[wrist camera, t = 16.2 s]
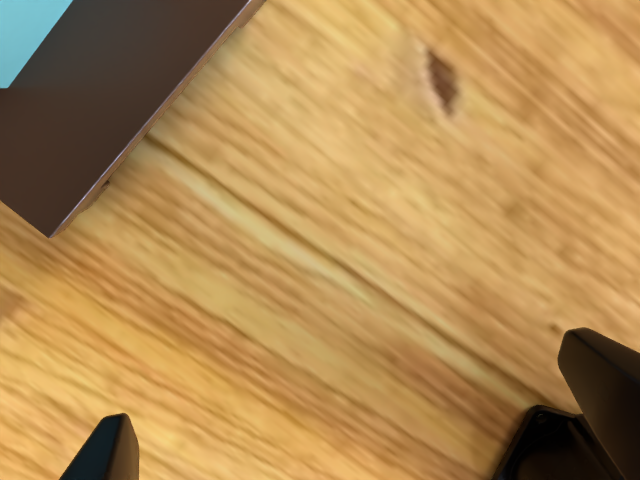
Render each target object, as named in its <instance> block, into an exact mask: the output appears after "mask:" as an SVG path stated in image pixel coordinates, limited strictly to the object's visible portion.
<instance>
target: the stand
mask: <svg viewBox="0 0 640 480" xmlns="http://www.w3.org/2000/svg"><path fill="white" fill-rule="evenodd" d="M265 1H266V0H73V1H72V2H71V4H70V5H69V6H68V8H67V9H66V10H65V12H64V13H63V14H62V16H61V17H60V18H59V20H58V21H57V22H56V24H55V25H54V26H53V28H52V29H51V30H50V32H49V33H48V34H47V36H46V37H45V38H44V40H43V41H42V42H41V44H40V45H39V47H38V48H37V49H36V51H35V52H34V53H33V55H32V56H31V57H30V59H29V60H28V61H27V63H26V64H25V65H24V67H23V68H22V69H21V71H20V72H19V73H18V75H17V76H16V77H15V79H14V80H13V81H12V83H11V84H10V85H9V87H8V88H0V200H1V201H2V202H3V203H4V204H6V205H7V206H8V207H9V208H11V209H12V210H13V211H15V212H16V213H17V214H18V215H20V216H21V217H22V218H23V219H25V220H26V221H27V222H28V223H30V224H31V225H32V226H34V227H35V228H36V229H37V230H39V231H40V232H41V233H42V234H44V235H45V236H46V237H48V238H52V237H54V236H55V235H57V234H58V233H60V232H62V231H63V230H65V229H66V228H67V227H68V225H69V224H70V223H71V222H72V221H73V219H74V218H75V217H76V216H77V215H78V214H79V213H81V212H83V211H84V210H86V209H88V208H89V207H90V206H91V205H92V204H93V203H94V202H95V200H96V199H97V198H98V197H99V196H100V195H101V193H102V192H103V191H104V190H105V189H106V188H107V186H108V185H109V184H110V182H109V181H108V180H107V179H108V178H109V177H110V176H111V175H112V173H113V172H114V171H115V170H116V169H117V168H118V166H119V165H120V164H121V163H122V162H123V160H124V159H125V158H126V157H127V156H128V155H129V153H130V152H131V151H132V150H133V149H134V148H135V146H136V145H137V144H138V143H139V142H140V140H141V139H142V138H143V137H144V136H145V135H146V133H147V132H148V131H149V130H150V129H151V127H152V126H153V125H154V124H155V123H156V122H157V120H158V119H159V118H160V117H161V116H162V115H163V113H164V112H165V111H166V110H167V109H168V107H169V106H170V105H171V104H172V103H173V102H174V100H175V99H176V98H177V97H178V96H179V94H180V93H181V92H182V91H183V90H184V89H185V87H186V86H187V85H188V84H189V83H190V81H191V80H192V79H193V78H194V77H195V76H196V74H197V73H198V72H199V71H200V70H201V69H202V67H203V66H204V65H205V64H206V63H207V61H208V60H209V59H210V58H211V57H212V56H213V54H214V53H215V52H216V51H217V50H218V48H219V47H220V46H221V45H222V44H223V43H224V41H225V40H226V39H227V38H228V37H229V36H230V34H231V33H232V32H233V31H234V30H235V28H236V27H237V26H238V27H240V28H243V27H244V26H245V25H246V23H247V22H248V21H249V20H250V19H251V17H252V16H253V15H254V14H255V13H256V12H257V10H258V9H259V8H260V7H261V6H262V5H263V3H264V2H265Z"/></svg>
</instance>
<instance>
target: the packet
mask: <svg viewBox="0 0 640 480" xmlns="http://www.w3.org/2000/svg"><path fill="white" fill-rule="evenodd" d="M72 1H73V0H0V88H8V87H9V85H10V84H11V83H12V81H13V80H14V79H15V77H16V76H17V75H18V73H19V72H20V71H21V69H22V68H23V67H24V65H25V64H26V63H27V61H28V60H29V59H30V57H31V56H32V55H33V53H34V52H35V51H36V49H37V48H38V47H39V45H40V44H41V42H42V41H43V40H44V38H45V37H46V36H47V34H48V33H49V32H50V30H51V29H52V28H53V26H54V25H55V24H56V22H57V21H58V20H59V18H60V17H61V16H62V14H63V13H64V12H65V10H66V9H67V8H68V6H69V5H70V4H71V2H72Z"/></svg>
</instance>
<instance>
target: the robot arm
mask: <svg viewBox="0 0 640 480" xmlns="http://www.w3.org/2000/svg"><path fill="white" fill-rule="evenodd" d="M558 366H559V369H560V371H561V373H562V375H563V376H564V378H565V380H566V382H567V384H568V386H569V388H570V390H571V391H572V393H573V395H574V397H575V399H576V401H577V403H578V404H579V406H580V408H581V410H582V412H583V414H576V415H575V414H571V413H568V412H564V411H561V410H557V409H554V408H551V407H547V406H544V405H535V406H533V407H532V408H531V409H530V410H529V411H528V413H527V415H526V417H525V419H524V420H523V422H522V424H521V426H520V428H519V430H518V431H517V433H516V435H515V437H514V439H513V441H512V443H511V444H510V446H509V448H508V450H507V452H506V454H505V455H504V457H503V459H502V461H501V463H500V465H499V467H498V468H497V470H496V472H495V474H494V476H493V478H492V479H491V480H640V353H638V352H636V351H634V350H632V349H630V348H628V347H626V346H624V345H622V344H620V343H618V342H616V341H614V340H612V339H610V338H607V337H605V336H603V335H601V334H599V333H597V332H595V331H593V330H591V329H589V328H577V329H571V330H568V331H567V332H566V333H565V334H564V337H563V340H562V344H561V347H560V351H559V354H558ZM540 414H543V415H542V416H541V417H537V416H538V415H540ZM59 480H139V444H138V440H137V437H136V434H135V432H134V429H133V426H132V423H131V421H130V418H129V416H128V415H127V414H126V413H121V414H115V415H110V416H106V417H104V418H103V419H102V420H101V421H100V422H99V424H98V425H97V426H96V428H95V429H94V431H93V432H92V433H91V435H90V436H89V438H88V439H87V441H86V442H85V443H84V445H83V446H82V448H81V449H80V450H79V452H78V453H77V455H76V456H75V457H74V459H73V460H72V462H71V463H70V465H69V466H68V467H67V469H66V470H65V472H64V473H63V474H62V476H61V477H60V479H59Z"/></svg>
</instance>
